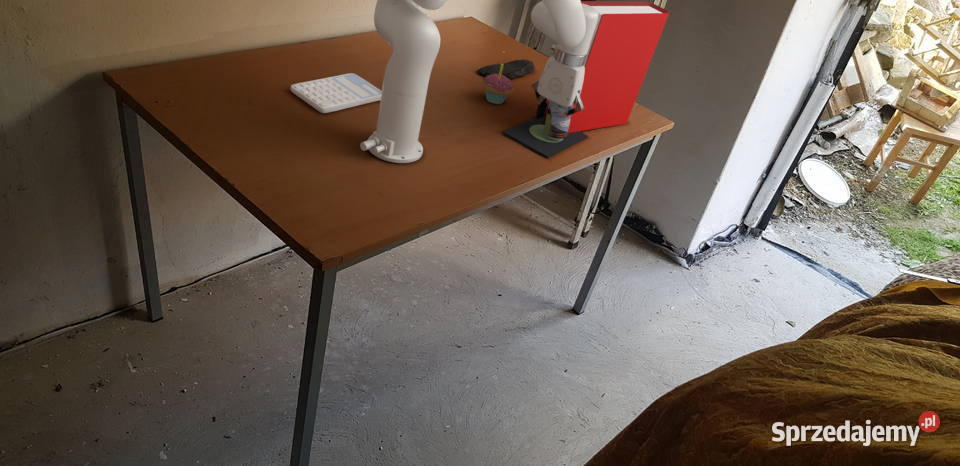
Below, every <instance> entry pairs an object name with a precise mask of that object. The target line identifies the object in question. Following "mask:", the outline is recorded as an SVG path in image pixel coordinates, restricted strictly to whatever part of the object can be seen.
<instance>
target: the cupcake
mask: <svg viewBox="0 0 960 466" xmlns="http://www.w3.org/2000/svg"><path fill="white" fill-rule="evenodd" d="M503 63H504V61H502V62H501V63H500V64H501V67H500V71H499V74H491V75H489V76H488V75H487V76H486V77H484V78H483V79H482V83H481V84H482V86H483V88H484V89H485V98H486V101H487V102H489V103H491V104H494V105H502V104H503V103H504V102H505V100H506V98H507V97H508V96H509V95H510V94H512V93H513V91H514V83H513V81H512V80H511V78H508V77H506V76H504V75H501V74H502V69H503V65H504V64H503Z"/></svg>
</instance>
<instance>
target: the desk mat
mask: <svg viewBox="0 0 960 466" xmlns="http://www.w3.org/2000/svg"><path fill="white" fill-rule="evenodd" d="M543 118H544V117H543ZM543 118H540V119H536V116H535V117H533V118H530V119H529V120H526V121H524V122H521V123H519V124H517V125H514V126H512V127H510V128H507V129H505V130H503V131H502V132H501V134H503V135H504V136H506V137H508V138H510V139H511V140H514V141H515V142H516V143H518V144H520V145H522V146H524V147H526V148H528V149H530V150H531V151H533V152H535V153H536V154H538V155H540V156H542V157H544V158H545V159H549V158H551V157H553V156H554V155H556V154H558V153H561V152H563V151H564V150H566V149H568V148H570V147H572V146H574V145H576V144H578V143H580V142H581V141H584V140H585V139H587V138H588V135H587V134H585V133H584V132H582V131H578V132H571V133H567V137H566V138H564V139H562V140H554V139H550V138H548V137H547V136H546V135H545V134H544V127H545V122H546V120H543Z"/></svg>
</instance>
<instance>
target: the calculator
mask: <svg viewBox="0 0 960 466" xmlns="http://www.w3.org/2000/svg"><path fill="white" fill-rule="evenodd" d="M289 89H290V92H292V93H293V94H294V95H295V96H296V97H298V98H300V99H301V100H302V101H303V102H305V103H307V104H308V105H309V106H311V108H313V109H315V110H316V111H318V112H319V113H321V114H328V113H329V114H330V113H332V112H337V111H341V110H346V109H349V108H355V107H359V106H363V105H367V104H370V103H375V102H380V100H381V94H382V89H379V88H378V87H376V85H375V86H374V85H373V84H372V83H370V82H369V81H367V80H366V79H364V78H362V77H361V76H360V75H358V74H356V73H352V72H349V73H343V74H339V75H334V76H328V77H324V78H320V79H314V80H308V81H303V82H298V83H293V84H291V85H290V88H289Z"/></svg>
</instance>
